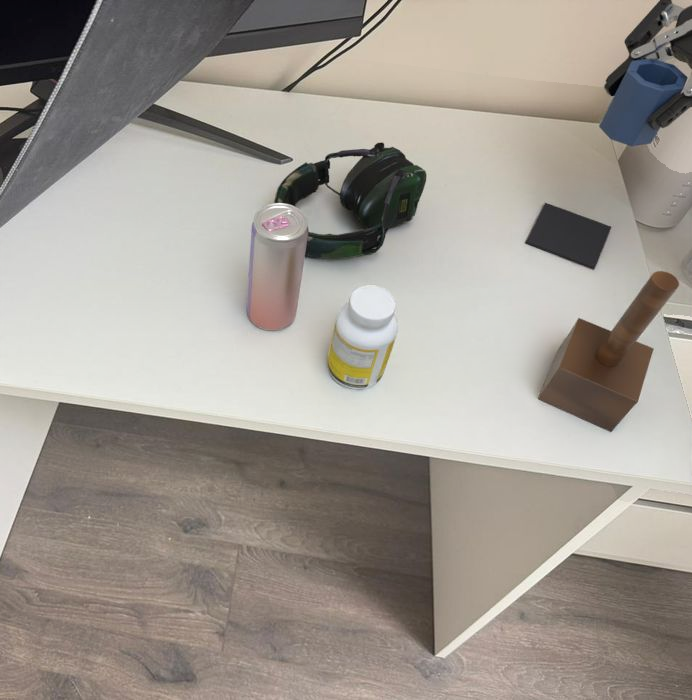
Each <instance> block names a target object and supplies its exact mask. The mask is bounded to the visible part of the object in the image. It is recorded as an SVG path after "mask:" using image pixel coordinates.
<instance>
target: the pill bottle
mask: <svg viewBox="0 0 692 700" xmlns="http://www.w3.org/2000/svg"><path fill="white" fill-rule="evenodd" d="M396 305H397V302H396V299H395V297H394V295H393V294H392V293H391V292H390V291H389V290H387V288H384V287H382V286H380V285H374V284H366V285H362V286H358V287H357V288H355V289H354V290H353V291H352V292H351V294H350V296H349V300H348V302H347V303H345V304H344V305H343V306H342V307H341V308H340V309H339V310H338V312H337V314H336V318H335V322H334V327H333V331H332V337H331V342H330V346H329V351H328V356H327V363H326V364H327V370H328V372H329V374H330V375H331V377H332V378H333V379H334V381H335V382H337V383H338V384H339V385H342V386H343V387H346V388H349V389H354V390H364V389H368V388H371V387H373V386H374V385H377V383H379V382H380V381H381V379H382V378H383V375H384V374H385V371H386V368H387V365H388V362H389V359H390V356H391V354H392V351H393V348H394V344H395V341H396V338H397V335H398V332H399V322H398V317H397V315H396V314H395V312H396V308H397V306H396Z"/></svg>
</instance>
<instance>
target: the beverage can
mask: <svg viewBox="0 0 692 700" xmlns="http://www.w3.org/2000/svg"><path fill="white" fill-rule="evenodd" d="M250 230H251V232H250V247H249V248H250V249H249V262H248V263H249V265H248V280H247V296H246V313H247V317H248V319H249V320H250V321H251V323H253V324H254V325H255V326H256V327H257V328H260V329H262V330H266V331H273V332H274V331H279V330H282V329H285V328H286V327H288V326H289V325H291V324H292V323H293V322H294V320H295V318H296V316H297V313H298V304H299V299H300V292H301V286H302V285H301V284H302V279H303V272H304V264H305V259H306V255H305V252H306V245H307V238H308V232H309V222H308V217H307V216H306V213H305V212H303V211H302V210H301V209H300V208H298V207H297V206H296V207H295V206H293V205H289V204H285V203H274V202H273V203H270V204H269V203H268V204H266V205H264V206H262V207H261V208H259V209H258V211H256V213H255V215H254V218H253V221H252V224H251V229H250Z"/></svg>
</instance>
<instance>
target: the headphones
mask: <svg viewBox="0 0 692 700" xmlns="http://www.w3.org/2000/svg"><path fill="white" fill-rule="evenodd" d="M346 157H361V158H360V159H359V160H358V161H357V162H356V163H355V164H354V166H353V167H352V168H351V169H350V170H349V172H348V173H347V175H346V176H345V178H344V180H343V181H342V184H341V188H340V191H337V190H336V189H334V188H333V187H331V186H330V185H329V183H330V169H331V161H330V160H331V159H336V158H346ZM426 171H427V170H425V169H423V168H422V167H421V166H419V165H417V164H414V163H413V162H412V161H410V160H409V159H407V157H406V155H405V154H404V152H402V150H400V149H398V148H396V147H394V146H390V147H385V143H384V142H376V143H375V144H374V147H372V148H369V149H367V148H357V149H345V150H339V151H337V152H332V153H328V154H327V155H325V157H324V160H320V161H317V162H314V163H313V162H309V163H308V162H307V161H305V162H304V163H302V164H301V165H299V166H298V167H296V168H295V169H294V170H293V171H291V172H289V173H288V175H286V177H284V178H283V179H282V181H281V182H280V184H279V185H278V187H277V189H276V192H275V196H274V202H273V204H274V203H285V204H289V205H293V206H295V207H297V206H296V205H297V203H299V202H300V201H302V200H303V199H306V198H307V197H309V196H311V195H312V194H314V193H317V191H318V190H319V187H320V186H323V185H325V186H326V188H327V189H329V190H330V191H332V193H334V194H336V195H338V196H339V203H340V204H341V206H342V208H344V209H345V210H347V211H348V212H351V213H352V214H354V215H355V216H356V217H357V219H358V221H359V222H360V224H361V225H362V226H363V227H364V228H365V229H364V228H360V229H358V230H356V231H351V232H344V233H339V234H333V233H326V234H325V233H324V234H323V233H316V232H311V231H308V238H307V245H306V252H305V256H307V257H311V258H313V259H331V260H332V259H334V260H341V259H348V258H353V257H361V256H363V255H364V256H368V255H372V254H375V253H377V252H378V251H379V250H380V249H381V248H382V247H383V245H384V242H385V239H386V235H387V232H388V230H389V228H393V227H397V226H400V225H404V224H405V222H410V221H412V220H413V217H415V216H416V212H417V209H418V205H419V202H420V200H421V197H422V195H423V192H424V190H425V186H426V183H427V172H426Z"/></svg>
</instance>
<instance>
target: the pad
mask: <svg viewBox="0 0 692 700" xmlns="http://www.w3.org/2000/svg"><path fill="white" fill-rule="evenodd" d="M611 229H612V226H611V225H608V224H605V223H602V222H600V221H597V220H594V219H592V218H590V217H589V218H588V217H586V216H583V215H582V214H578V213H575V212H573V211H570V210H567V209H564V208H561V207H559V206H556V205H553V204H550V203H548V202H544V205H542V208H541V211H540V212H539V214H538V216H537V218H536V220H535V222H534V224H533V226H532V229H531V230H530V233H529V234H528V236H527V238H526V240H525V242H524V243H525V244H526V245H529V246H531V247H534V248H536V249H539V250H541V251H545V252H547V253H549V254H552V255H555V256H557V257H560V258H562V259H565V260H568V261H570V262H573V263H575V264H577V265H580V266H583V267H586V268H588V269H591V270H595V269H596V267H597V264H598V262H599V259H600V257H601V254H602V253H603V249H604V247H605V245H606V242H607V239H608V236H609V234H610V232H611Z"/></svg>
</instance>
